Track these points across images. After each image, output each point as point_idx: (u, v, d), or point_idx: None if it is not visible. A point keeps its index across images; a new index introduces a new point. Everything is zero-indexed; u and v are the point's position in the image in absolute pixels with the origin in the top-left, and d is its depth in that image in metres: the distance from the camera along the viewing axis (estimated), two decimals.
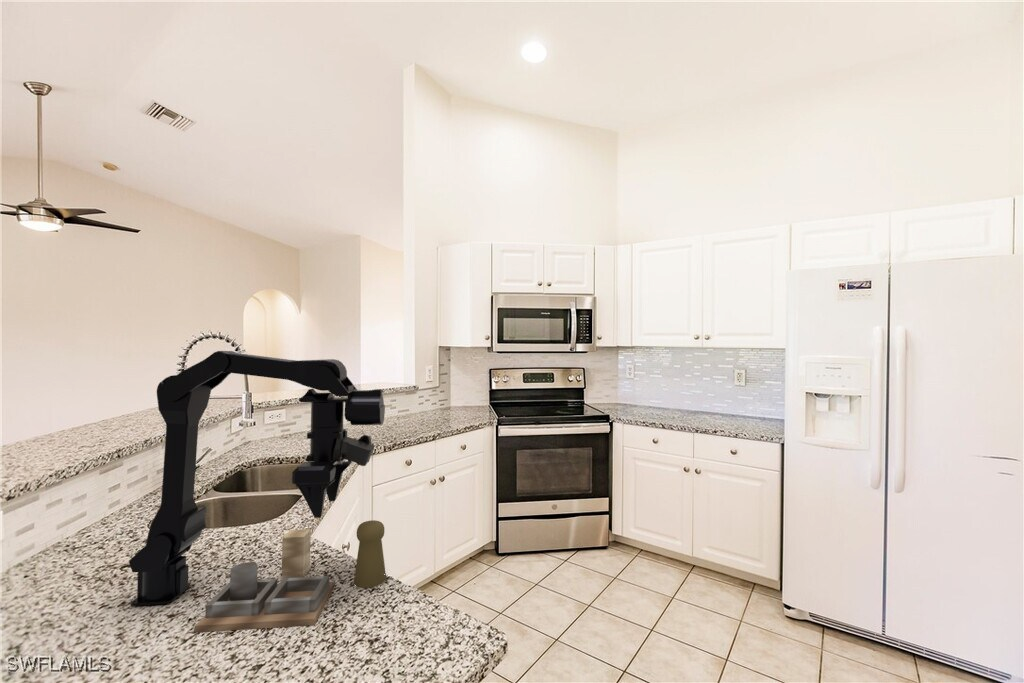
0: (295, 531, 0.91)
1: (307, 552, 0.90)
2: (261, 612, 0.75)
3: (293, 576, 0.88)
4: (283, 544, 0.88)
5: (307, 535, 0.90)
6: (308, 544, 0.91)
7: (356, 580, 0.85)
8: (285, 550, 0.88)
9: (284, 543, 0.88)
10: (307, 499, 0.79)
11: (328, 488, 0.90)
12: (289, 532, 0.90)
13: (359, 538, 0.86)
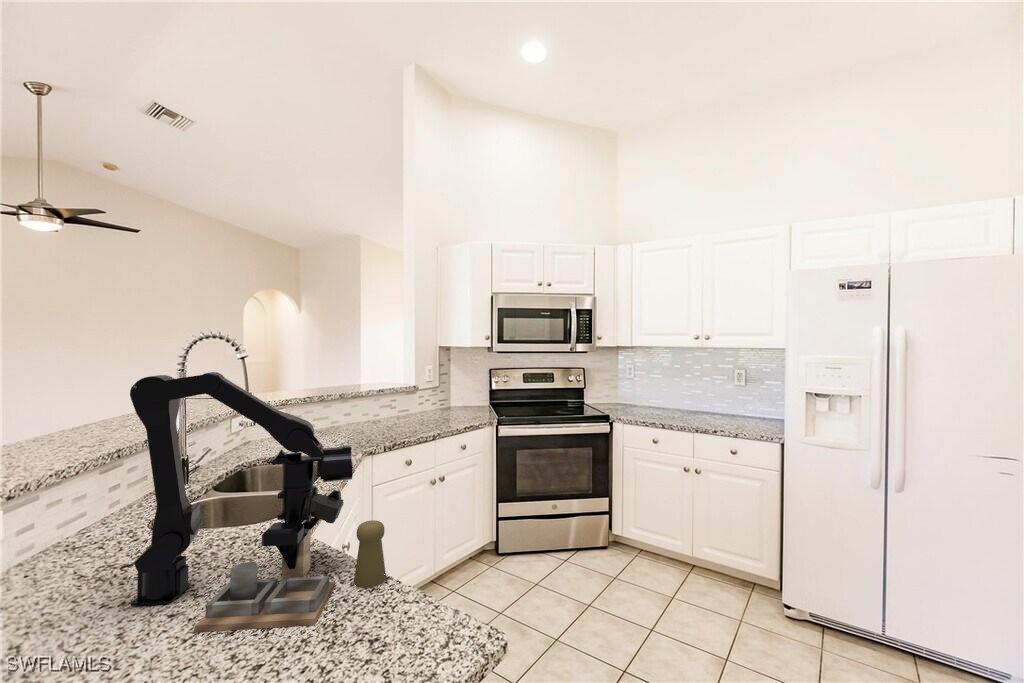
0: None
1: (307, 552, 0.90)
2: (261, 612, 0.75)
3: (293, 576, 0.88)
4: None
5: (307, 535, 0.90)
6: (308, 544, 0.91)
7: (356, 580, 0.85)
8: None
9: None
10: (282, 552, 0.86)
11: None
12: None
13: (359, 538, 0.86)
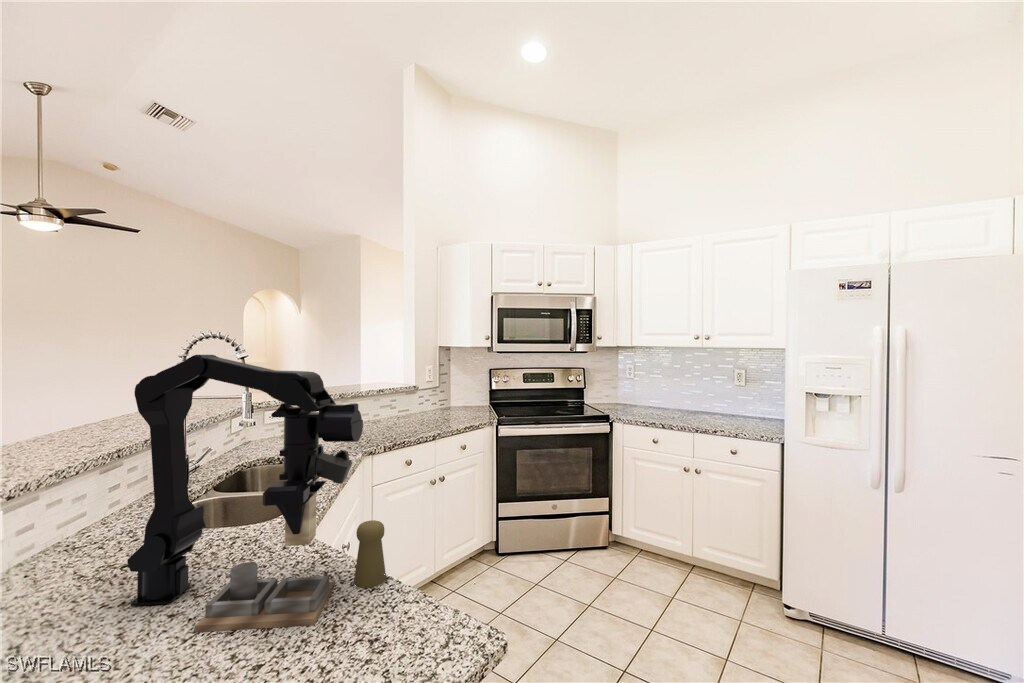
0: None
1: (313, 516, 0.82)
2: (261, 612, 0.75)
3: (298, 542, 0.79)
4: None
5: (312, 497, 0.82)
6: (314, 508, 0.82)
7: (356, 580, 0.85)
8: None
9: None
10: (285, 515, 0.78)
11: None
12: None
13: (359, 538, 0.86)
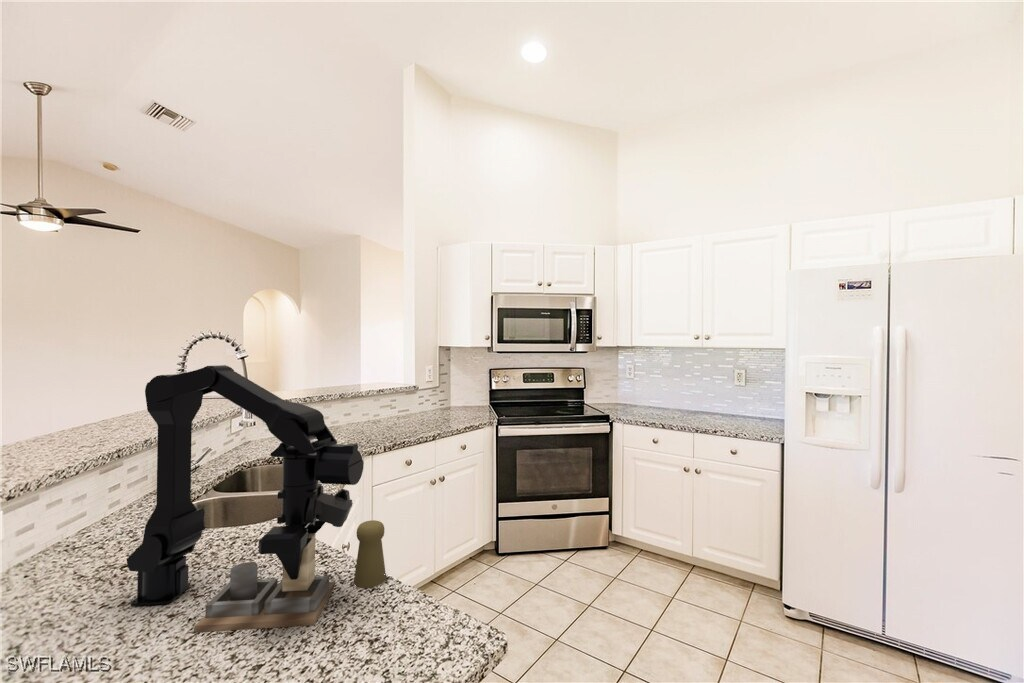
0: None
1: (311, 560, 0.79)
2: (261, 612, 0.75)
3: (295, 587, 0.77)
4: None
5: (311, 540, 0.79)
6: (313, 550, 0.80)
7: (356, 580, 0.85)
8: None
9: None
10: (282, 560, 0.75)
11: None
12: None
13: (359, 538, 0.86)
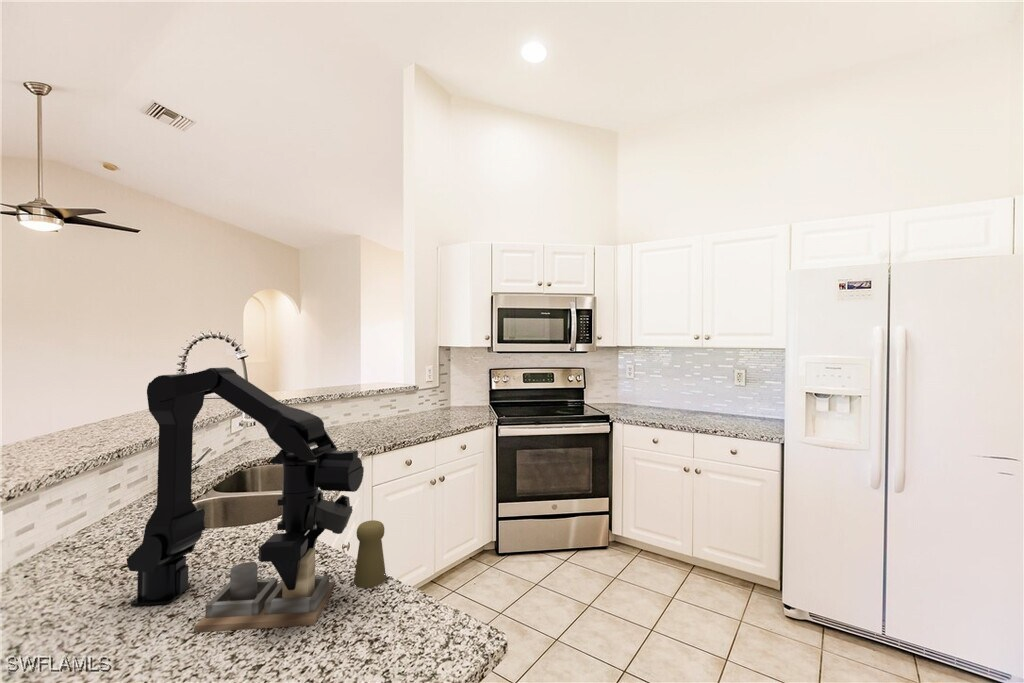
0: None
1: (311, 575, 0.79)
2: (261, 612, 0.75)
3: None
4: None
5: (311, 555, 0.79)
6: (312, 565, 0.80)
7: (356, 580, 0.85)
8: None
9: None
10: (279, 571, 0.74)
11: None
12: None
13: (359, 538, 0.86)
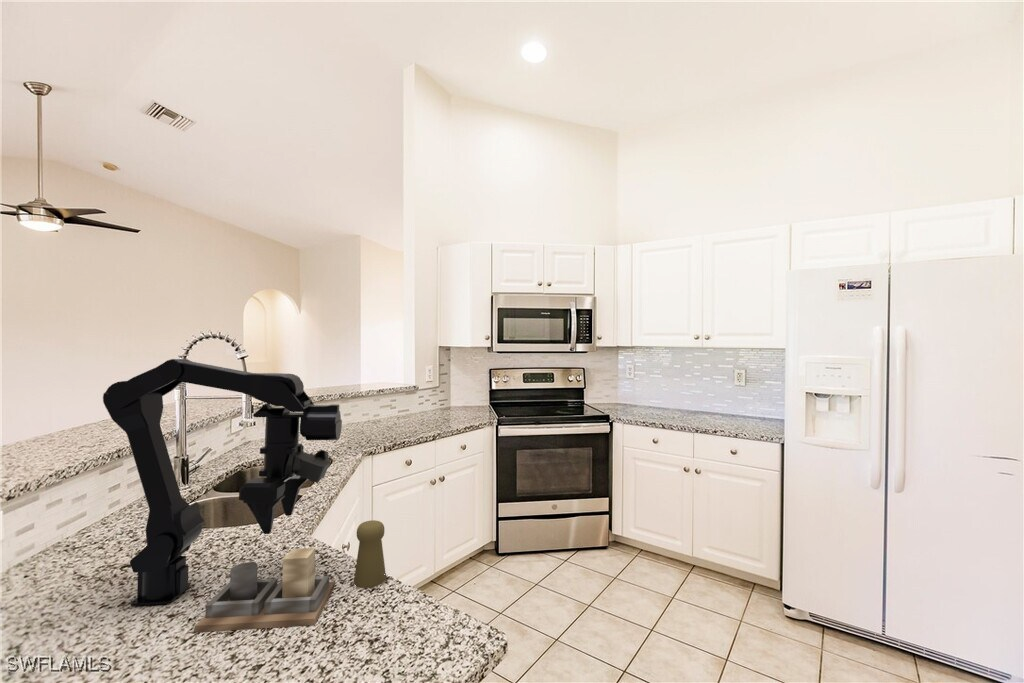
0: (298, 551, 0.80)
1: (311, 575, 0.79)
2: (261, 612, 0.75)
3: None
4: (284, 566, 0.76)
5: (311, 555, 0.79)
6: (312, 565, 0.80)
7: (356, 580, 0.85)
8: (286, 573, 0.76)
9: (285, 565, 0.76)
10: (256, 515, 0.79)
11: (284, 502, 0.90)
12: (291, 552, 0.79)
13: (359, 538, 0.86)
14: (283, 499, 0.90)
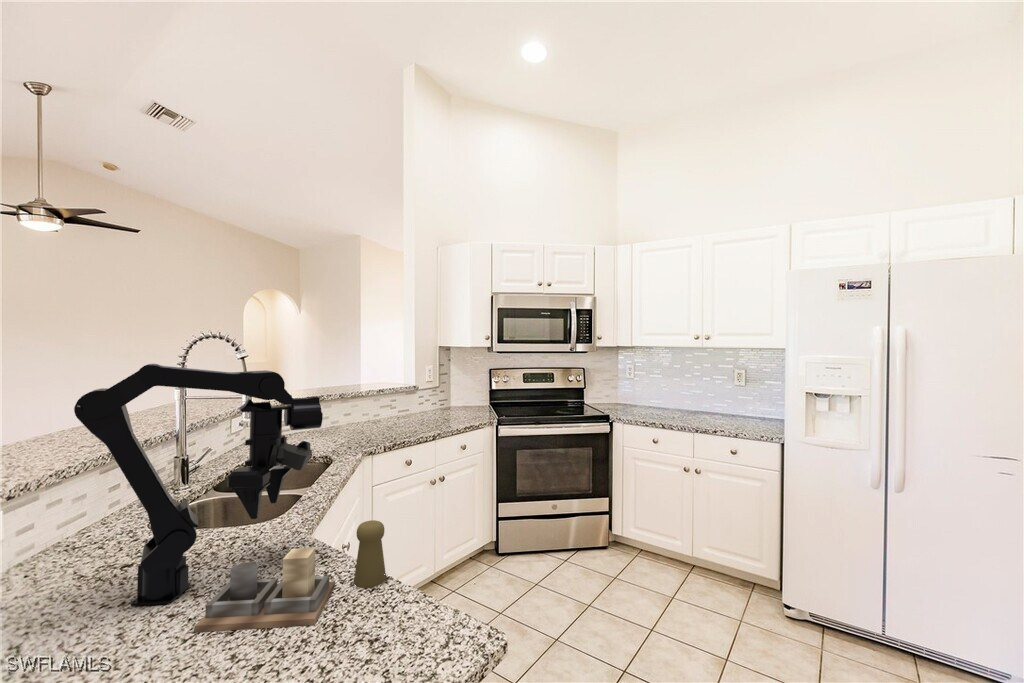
0: (298, 551, 0.80)
1: (311, 575, 0.79)
2: (261, 612, 0.75)
3: None
4: (284, 566, 0.76)
5: (311, 555, 0.79)
6: (312, 565, 0.80)
7: (356, 580, 0.85)
8: (286, 573, 0.76)
9: (285, 565, 0.76)
10: (243, 501, 0.85)
11: (270, 491, 0.96)
12: (291, 552, 0.79)
13: (359, 538, 0.86)
14: (268, 488, 0.96)
